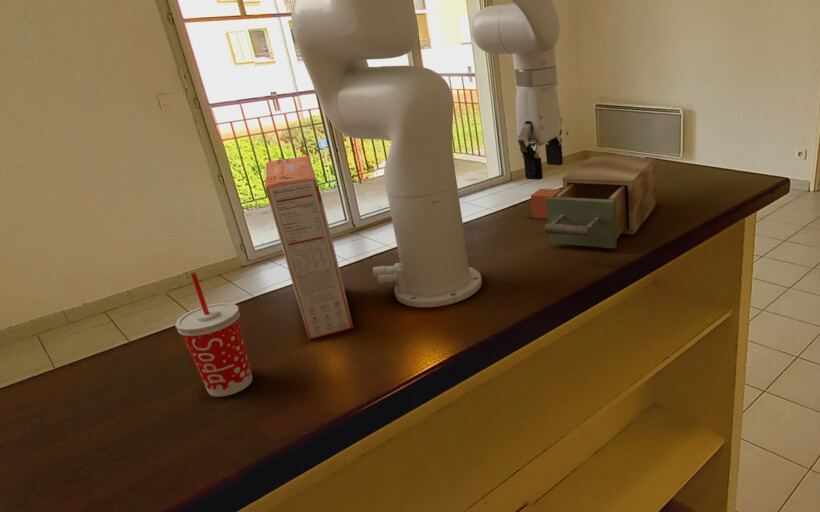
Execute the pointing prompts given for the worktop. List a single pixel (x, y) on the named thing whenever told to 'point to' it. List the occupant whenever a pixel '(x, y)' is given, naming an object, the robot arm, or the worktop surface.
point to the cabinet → (622, 182)
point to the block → (542, 202)
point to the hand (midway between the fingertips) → (545, 171)
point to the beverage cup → (216, 345)
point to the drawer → (588, 215)
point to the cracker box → (307, 245)
